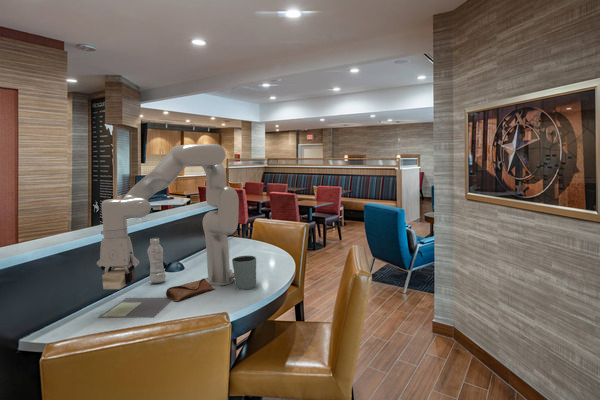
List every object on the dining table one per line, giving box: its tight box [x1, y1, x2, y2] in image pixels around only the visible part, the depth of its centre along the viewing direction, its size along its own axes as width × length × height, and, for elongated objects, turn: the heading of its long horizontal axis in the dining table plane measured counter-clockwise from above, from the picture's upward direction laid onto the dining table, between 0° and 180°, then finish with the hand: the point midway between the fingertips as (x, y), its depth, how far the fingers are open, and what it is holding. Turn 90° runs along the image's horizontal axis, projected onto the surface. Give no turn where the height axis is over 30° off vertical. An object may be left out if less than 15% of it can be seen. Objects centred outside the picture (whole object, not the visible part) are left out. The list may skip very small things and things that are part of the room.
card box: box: [101, 267, 136, 290], centre depth 127 cm, size 10×6×5 cm, turn 177°
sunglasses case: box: [165, 278, 215, 302], centre depth 142 cm, size 18×7×7 cm, turn 139°
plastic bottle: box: [147, 237, 167, 284], centre depth 157 cm, size 6×7×20 cm
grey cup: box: [231, 255, 257, 291], centre depth 149 cm, size 10×10×12 cm
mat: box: [97, 296, 173, 319], centre depth 130 cm, size 20×18×1 cm
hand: (119, 282), depth 127 cm, fingers closed on card box, 6 cm apart
